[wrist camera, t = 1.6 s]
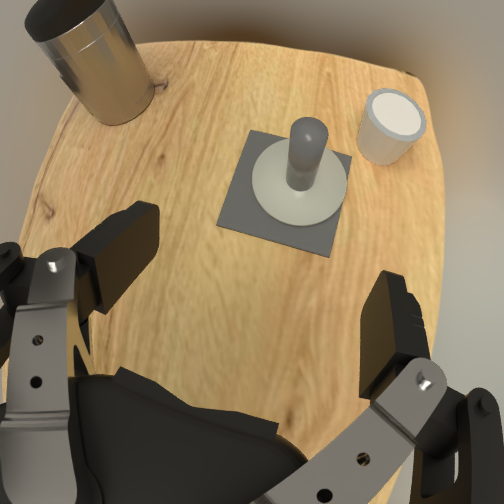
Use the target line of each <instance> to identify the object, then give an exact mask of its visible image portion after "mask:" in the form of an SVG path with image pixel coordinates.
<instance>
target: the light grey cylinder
mask: <svg viewBox="0 0 504 504" xmlns="http://www.w3.org/2000/svg"><path fill="white" fill-rule="evenodd" d="M425 131H426V119H425V116H424V113H423V111H422V110H421V108H420V107H419V106H418V104H417V103H416V102H415V101H414V100H413V99H411V98H410V97H409V96H408V95H406V94H404V93H402V92H400V91H397V90H395V89H387V88H383V89H379V90H375V91H373V92H372V93H371V94H370V95H369V96H368V98H367V102H366V106H365V110H364V114H363V117H362V121H361V125H360V129H359V132H358V136H357V140H356V141H357V146H358V149H359V151H360V152H361V154H362V156H363V157H365V158H366V159H367V160H368V161H369V162H371V163H374V164H376V165H382V166H388V165H390V164H392V163H394V162H395V161H397V160H398V159H399V158H400V157H401V156H402V155H403V154H404V153H405V152H406V151H407V150H408V149H409V148H410V147H411V146H412V145H413V144H414V143H416V142H417V141H418V140H419V139H420V138H421V136H422V135H423V134H424V132H425Z"/></svg>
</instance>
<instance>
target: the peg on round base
mask: <svg viewBox="0 0 504 504" xmlns="http://www.w3.org/2000/svg"><path fill="white" fill-rule="evenodd" d="M327 139H328V129H327V127H326V126H325V125H324V123H322V122H321V121H320V120H318V119H316V118H312V117H303V118H300V119H298V120H296V121H295V122H294V123H293V124H292V126H291V131H290V139H285V140H281V141H278V142H276V143H274V144H272V145H271V146H269V147H268V148H267V149H265V150H264V151H263V152H262V154H261V155H260V156H259V157H258V159H257V161H256V163H255V165H254V169H253V173H252V185H253V191H254V194H255V198H256V200H257V202H258V203H259V205H260V206H261V208H262V209H263V210H264V211H265V212H266V213H267V214H268V215H269V216H270V217H272V218H273V219H275V220H276V221H278V222H280V223H283V224H286V225H289V226H294V227H308V226H313V225H317V224H319V223H322V222H324V221H325V220H327V219H329V218H330V217H331V216H332V215H333V214H334V213H335V212H336V211H337V210H338V208H339V206H340V205H341V203H342V201H343V199H344V197H345V194H346V188H347V179H346V173H345V170H344V168H343V165H342V163H341V162H340V160H339V159H338V157H337V156H336V155H335V154H334V153H333V152H332V151H331V150H330V149H328V148H327V147H326V143H327Z"/></svg>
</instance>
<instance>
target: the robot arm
mask: <svg viewBox="0 0 504 504" xmlns="http://www.w3.org/2000/svg"><path fill="white" fill-rule="evenodd" d="M25 28H26V30H27V32H28V33H29V34H30V36H31V37H32V38H33V40H34V41H35V42H36V43H37V44H38V46H39V47H40V48H41V50H42V51H43V52H44V53H45V55H46V56H47V57H48V58H49V59H50V61H51V62H52V63H53V65H54V66H55V67H56V68H57V69H58V71H59V72H60V77H61V79H62V80H63V81H64V82H65V83H66V85H67V86H68V87H69V88H70V89H71V91H72V92H73V93H74V94H75V96H76V97H77V98H78V99H79V100H80V102H81V103H82V104H83V105H84V106H85V108H86V109H87V110H88V111H89V112H90V113H91V114H94V115H95V116H96V118H97V119H98V120H99V121H100V122H101V123H103V124H106V125H119V124H122V123H125V122H127V121H130V120H132V119H133V118H135V117H136V116H138V115H139V114H140V113H141V112H143V111H144V109H145V108H146V107H147V106H148V105H149V103H150V102H151V100H152V98H153V95H154V84H153V82H152V80H151V77H150V75H149V73H148V71H147V69H146V67H145V65H144V63H143V61H142V59H141V57H140V55H139V53H138V50H137V48H136V46H135V44H134V42H133V40H132V38H131V36H130V34H129V32H128V30H127V28H126V26H125V24H124V22H123V19H122V17H121V15H120V13H119V11H118V9H117V7H116V5H115V3H114V1H113V0H38V1H37V2H36V3H35V4H34V6H33V7H32V8H31V10H30V11H29V13H28V15H27V17H26V19H25ZM159 219H160V210H159V207H158V205H155V204H151V203H147V202H143V201H137V202H135V203H134V204H133V205H131V206H130V207H129V208H127V209H126V210H122V211H119V212H117V213H114V214H112V215H110V216H109V217H108V218H106V219H105V220H104V221H103V222H102V224H99V225H98V226H96V227H95V229H94V230H91V231H90V232H89V233H88V234H86V235H85V236H84V237H83V238H82V239H80V240H79V241H78V242H77V243H76V244H74V245H73V246H72V247H71V248H70V249H68V248H63V247H59V248H53V249H50V250H47V251H45V252H44V253H42V254H41V255H40V256H39V257H38V258H29V257H23V255H22V251H21V248H20V246H19V244H17V243H15V242H6V243H2V244H0V296H1V299H2V301H3V303H4V305H3V306H2V308H1V309H0V368H1V367H2V366H3V364H4V363H5V361H6V360H7V359H8V357H9V366H8V378H7V398H6V403H3V404H0V504H368V503H369V502H370V501H371V500H372V499H373V497H374V496H375V495H376V494H377V493H378V492H379V491H380V490H381V489H382V487H383V486H384V485H385V484H386V483H387V482H388V481H389V479H390V478H391V477H392V476H393V475H394V473H395V472H396V471H397V470H398V469H399V467H400V466H401V465H402V464H403V462H404V461H405V460H406V458H407V457H408V456H409V454H410V453H411V452H412V450H413V449H414V463H413V476H412V485H411V494H410V502H409V504H504V443H503V433H502V425H501V418H500V412H499V406H498V403H497V402H496V399H495V398H494V396H493V395H492V394H491V393H490V392H489V391H487V390H486V389H483V388H475V389H473V390H472V391H470V392H469V393H468V394H467V395H466V396H465V395H463V394H461V393H459V392H457V391H455V390H453V389H452V388H450V387H448V386H447V380H446V377H445V374H444V373H443V371H442V369H441V368H440V367H439V366H438V365H437V364H436V363H434V362H433V361H431V359H430V353H429V347H428V342H427V336H426V331H425V328H424V322H423V319H422V312H421V308H420V305H419V303H418V302H417V300H416V298H415V297H414V295H413V294H411V293H408V292H407V288H406V283H405V279H404V277H403V276H402V275H399V274H395V273H392V272H389V271H386V270H383V271H382V272H381V273H380V274H379V276H378V278H377V280H376V282H375V284H374V286H373V288H372V290H371V292H370V294H369V296H368V298H367V300H366V302H365V304H364V306H363V309H362V313H361V319H360V380H359V398H364V399H369V400H370V406H369V407H368V408H367V409H366V410H365V411H364V412H363V413H362V414H361V415H360V416H359V417H358V418H357V419H356V420H355V421H354V422H353V423H352V424H351V425H350V426H348V427H347V428H346V429H345V430H344V431H343V432H342V433H341V434H340V435H339V436H337V437H336V438H335V439H334V440H333V441H332V442H331V443H330V444H328V445H327V446H326V447H325V448H324V449H323V450H321V451H320V452H319V453H318V454H317V455H315V456H314V457H313V458H312V459H311V460H309V461H308V460H307V458H306V457H305V456H304V454H303V453H302V452H301V451H300V450H299V449H298V448H297V447H295V446H294V445H293V444H292V443H291V442H289V441H288V440H286V439H285V438H283V437H281V436H279V435H278V434H276V433H277V429H278V425H279V423H276V422H272V421H268V420H265V419H261V418H257V417H254V416H250V415H247V414H244V413H240V412H236V411H224V410H214V409H205V408H197V407H192V406H190V405H188V404H186V403H185V402H183V401H182V400H180V399H179V398H177V397H176V396H175V395H173V394H172V393H170V392H169V391H167V390H166V389H165V388H163V387H162V386H160V385H159V384H158V383H156V382H155V381H152V380H150V379H148V378H145V377H143V376H141V375H138V374H136V373H134V372H132V371H130V370H127V369H125V368H123V367H121V366H120V368H119V369H118V371H117V372H116V374H115V375H114V376H113V375H104V374H96V370H95V365H94V357H93V344H92V328H91V317H90V314H91V313H92V312H93V310H96V311H98V312H100V313H103V314H105V315H106V314H107V313H108V311H109V310H110V309H111V308H112V307H113V305H114V304H115V303H116V302H117V300H118V299H119V298H120V297H121V296H122V294H123V293H124V292H125V291H126V290H127V288H128V287H129V286H130V285H131V284H132V283H133V281H134V280H135V279H136V278H137V277H138V275H139V274H140V273H141V272H142V271H143V270H144V269H145V267H146V266H147V265H148V264H149V263H150V262H151V260H152V259H153V258H154V257H155V255H156V253H157V251H158V247H159ZM457 451H458V456H459V459H458V460H459V466H458V469H459V470H458V477H457V479H456V481H455V483H454V475H455V453H456V452H457Z"/></svg>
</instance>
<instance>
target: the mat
mask: <svg viewBox="0 0 504 504" xmlns="http://www.w3.org/2000/svg"><path fill="white" fill-rule="evenodd" d="M285 139H288V138H284V137H280V136H276V135H272V134H267V133H263V132H259V131H254V130H250V132H249V135H248V138H247V140H246V143H245V146H244V148H243V151H242V154H241V157H240V159H239V162H238V165H237V168H236V170H235V173H234V176H233V179H232V181H231V184H230V187H229V190H228V193H227V196H226V198H225V201H224V204H223V207H222V210H221V213H220V216H219V219H218V221H217V224H216V225H217V226H220V227H223V228H227V229H231V230H234V231H238V232H241V233H245V234H248V235H252V236H255V237H259V238H262V239H266V240H269V241H273V242H276V243H280V244H283V245H287V246H290V247H294V248H297V249H300V250H304V251H307V252H311V253H314V254H318V255H321V256H324V257H328V258H329V256H330V252H331V249H332V245H333V240H334V236H335V232H336V228H337V224H338V220H339V215H340V211H341V207H342V203H341V205H340V206H339V208H338V210H337V211H336V212H335V213H334V214H333V215H332V216H331V217H330V218H329V219H327V220H325V221H324V222H322V223H319V224H317V225H313V226H308V227H294V226H289V225H286V224H283V223H280V222H278V221H276V220H275V219H273V218H272V217H270V216H269V215H268V214H267V213H266V212H265V211H264V210H263V209H262V208H261V206H260V205H259V203H258V202H257V200H256V198H255V194H254V191H253V185H252V173H253V169H254V165H255V163H256V161H257V159H258V157H259V156H260V155H261V154H262V152H263V151H264V150H265V149H267V148H268V147H269V146H271V145H272V144H274V143H276V142H278V141H281V140H285ZM331 151H332V150H331ZM332 152H333V153H334V154H335V155H336V156H337V157H338V159H339V160H340V162H341V163H342V165H343V168H344V170H345V173H346V179H348V174H349V169H350V164H351V159H352V156H348V155H345V154H342V153H339V152H335V151H332ZM342 202H343V201H342Z"/></svg>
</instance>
